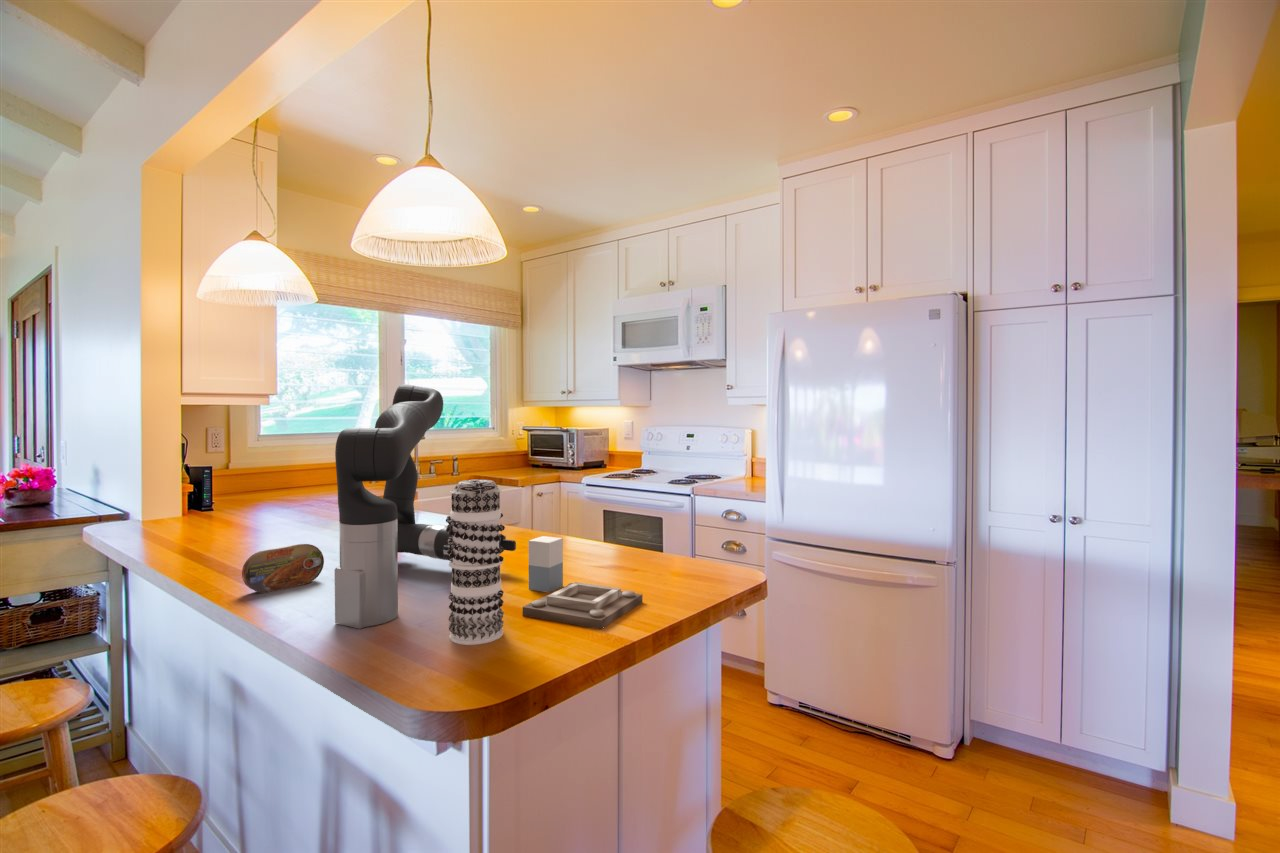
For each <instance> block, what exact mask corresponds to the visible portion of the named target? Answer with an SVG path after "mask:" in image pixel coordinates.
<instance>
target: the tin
mask: <svg viewBox="0 0 1280 853" xmlns="http://www.w3.org/2000/svg"><path fill="white" fill-rule="evenodd" d="M324 564H325V559H324V555H323V553H322V551H321V549H320V548H318V547H317V546H316V545H313V544H310V543H300V544H293V545H288V546H282V547H277V548H271V549H270V548H269V549H265V550H264V549H263V550H261V551H260V550H259V551H258V552H255V553H253V554H252V555H251V556H249V557H248V558H247V560H246V561H245V562H244V564H243V567H242V569H241V578H242V581H243V583H244V584H245V586H247V588H249V589H250V590H253V591H254V592H257V593H262V594H266V593H267V594H268V593H271V592H277V591H280V590H285V589H289V588H294V587H298V586H304V585H307V584H309V583H311V582H313V581H315V580H316V579H317V578H318V577H319V576H320V574H322V571H323V569H324Z"/></svg>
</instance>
